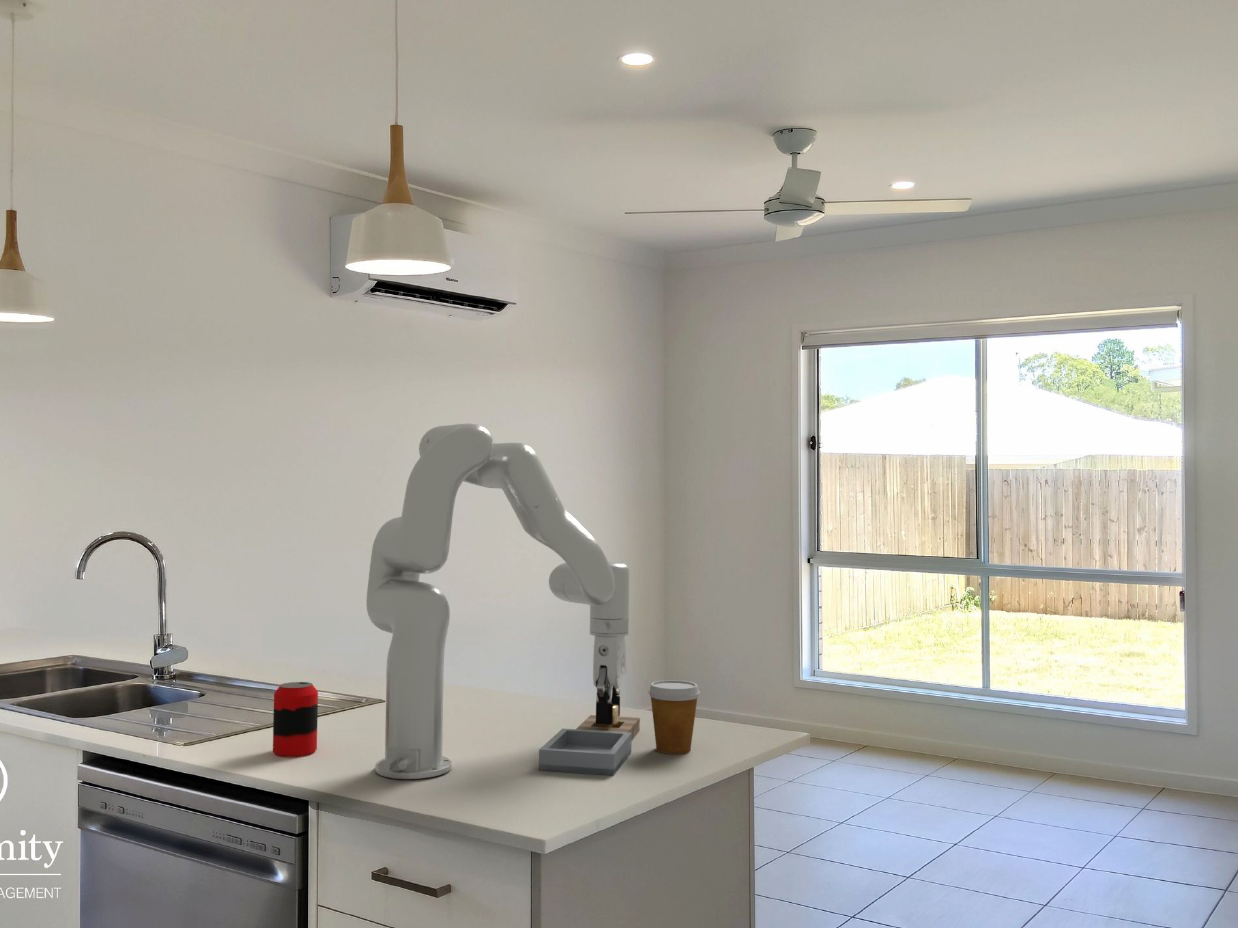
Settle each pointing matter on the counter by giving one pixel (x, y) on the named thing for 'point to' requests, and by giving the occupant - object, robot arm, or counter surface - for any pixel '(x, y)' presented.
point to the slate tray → (585, 751)
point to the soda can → (295, 719)
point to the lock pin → (615, 718)
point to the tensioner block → (623, 726)
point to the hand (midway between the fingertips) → (607, 719)
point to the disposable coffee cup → (673, 714)
